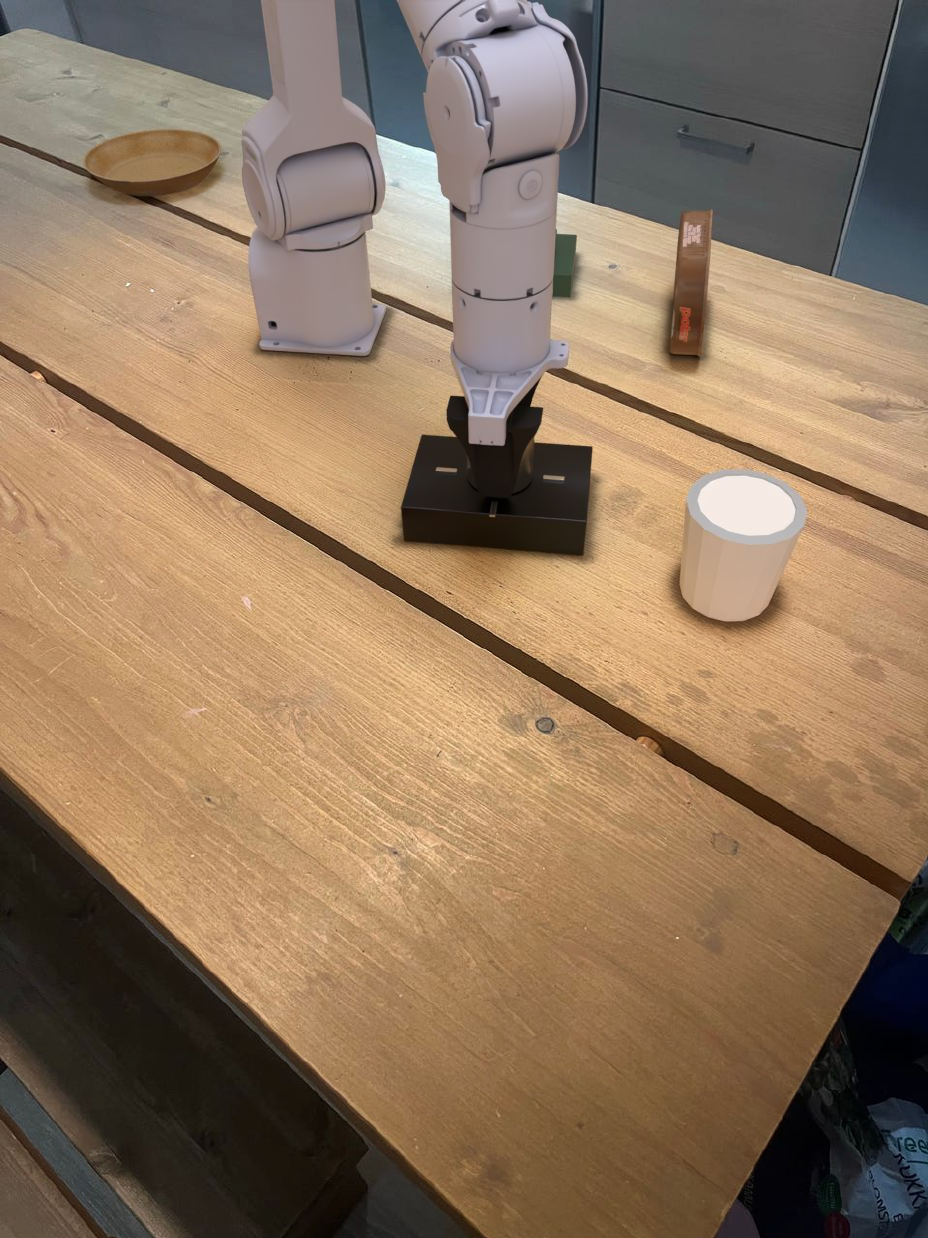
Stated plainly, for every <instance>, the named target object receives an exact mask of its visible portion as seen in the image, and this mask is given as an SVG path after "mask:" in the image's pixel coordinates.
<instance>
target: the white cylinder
mask: <svg viewBox="0 0 928 1238" xmlns="http://www.w3.org/2000/svg"><path fill="white" fill-rule="evenodd" d="M807 515H808V509H807V507H806V504H805V502H804V500H803V497H802V495H800V494H799V492H798V491H796V490H795V489H794V488H793V487H792V486H791V485H790V484H789V483H787V482H786V481H784V480H782V479H779V478H777V477H775V476H774V475H770V474H768V473H767V472H761V471H757V470H751V469H747V468H735V469H734V468H732V469H730V468H729V469H720V470H716V471H714V472H710V473H708V474H704V475H702V476H701V477H700V478H699V479H698V480H696V481H695V482H694V483H692V484H691V485H690V486H689V490H688V492H687V495H686V499H685V508H684V521H683V534H682V544H681V545H682V546H681V547H682V548H681V560H680V572H679V588H680V592H681V595H682V599H684V600H685V601H686V603H687V604H688V605H689V606H690V608H691V609H693V610H695V611H696V612H698V613H699V614H702V615H703V616H705V617H707V618H709V619H714V620H718V621H722V622H744V621H747V620H750V619H752V618H755V617H758V616H759V615H761V614H762V613H763V612H764V610H765V609H766V608H768V606H769V604H770V602H771V601H772V600H771V599H772V597H773V595H774V593H775V591H776V589H777V587H778V585H779V582H780V580H781V578H782V575H783V573H784V571H785V569H786V567H787V565H788V563H789V561H790V558H791V556H792V555H793V551H794V549H795V547H796V545H797V543H798V541H799V538H800V536H801V533H802V532H803V530H804V528H805V525H806V519H807Z"/></svg>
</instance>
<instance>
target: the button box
mask: <svg viewBox="0 0 928 1238" xmlns="http://www.w3.org/2000/svg"><path fill="white" fill-rule="evenodd" d="M577 240H578V235H577V234H572V233H570V234H568V233H558V229H557V228H556V236H555V256H554V275H553V293H552V297H557V298H559V297H560V298H571V295H572V287H573V279H574V271H575V263H576V256H577V255H576V254H577Z"/></svg>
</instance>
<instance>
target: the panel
mask: <svg viewBox="0 0 928 1238" xmlns="http://www.w3.org/2000/svg"><path fill="white" fill-rule="evenodd" d="M593 448H594V447H593V446H592V445H579V444H564V443H549V442H538V441H537V442H536V441H534V460H533V477H532V480H531V482H530V483H529V485H528V486H527V487H526V488H524V489H523V490H521V491H519V492H516V493H513V494H512V496H511V497H510V498H500V497H487V496H481V495H480V494H479V491H478V490H477V489H476V488H474V487H473V486H472V485H471V484H470V482H469V480H468V478H467V454H466V451H465V449H464V448H463V446H462V444H461V442H460V441H459V439H458V438H457V437H456V436H450V435H439V434H438V435H436V434H421V436H420V438H419V442H418V445H417V449H416V453H415V456H414V460H413V462H412V463H413V464H412V467H411V470H410V474H409V477H408V481H407V484H406V488H405V491H404V494H403V498H402V501H401V506H400V512H401V514H400V515H401V524H402V525H401V526H402V536H403V537H402V539H403V541H404V542H411V543H421V544H422V543H423V544H425V543H426V544H435V545H437V544H438V545H449V546H461V547H470V548H471V547H472V548H483V549H485V548H486V549H497V550H509V551H520V552H534V553H544V554H545V553H546V554H558V555H570V556H584V555H585V545H586V534H587V525H588V511H589V499H590V488H591V487H590V486H591V485H590V484H591V475H592V473H591V472H592V462H593Z"/></svg>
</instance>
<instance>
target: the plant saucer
mask: <svg viewBox="0 0 928 1238" xmlns="http://www.w3.org/2000/svg"><path fill="white" fill-rule="evenodd" d="M221 153H222V145H221V143H220V142H219V140H217V139H216V138H215V137H213V136H212V135H209V134H206V133H204V132H201V131H194V130H189V129H181V128H180V129H178V128H161V129H148V130H141V131H140V130H139V131H134V132H130V133H126V134H122V135H118V136H114V137H112V138H109V139H106V140H104V141H102V142H100V143H98V144H97V145H95V146H93V147H92V148H91V149H90V150H89V151H87V152H86V153H85V155H84V157H83V160H82V165H83V167H84V169H85V170H86V171H87V172H88V173H90V175H92V176H93V178H95V179H96V180H98V181H99V182H100V183H102V184H104V185H105V186H107V187H108V188H109V189H111V190H113V191H115V192H117V193H119V194H120V193H121V194H123V195H126V196H127V195H128V196H134V197H160V196H168V195H173V194H176V193H180V192H184V191H187V190H189V189H191V188H193V187H196V186H197V185H199V184H200V183H201V182H203V181H204V180H205V179H206V178H207V176H208V175H209V174H210V173H211V172H212V170H213V169H214V167H215V165H216V164H217V162H218V161H219V158H220V155H221Z"/></svg>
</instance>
